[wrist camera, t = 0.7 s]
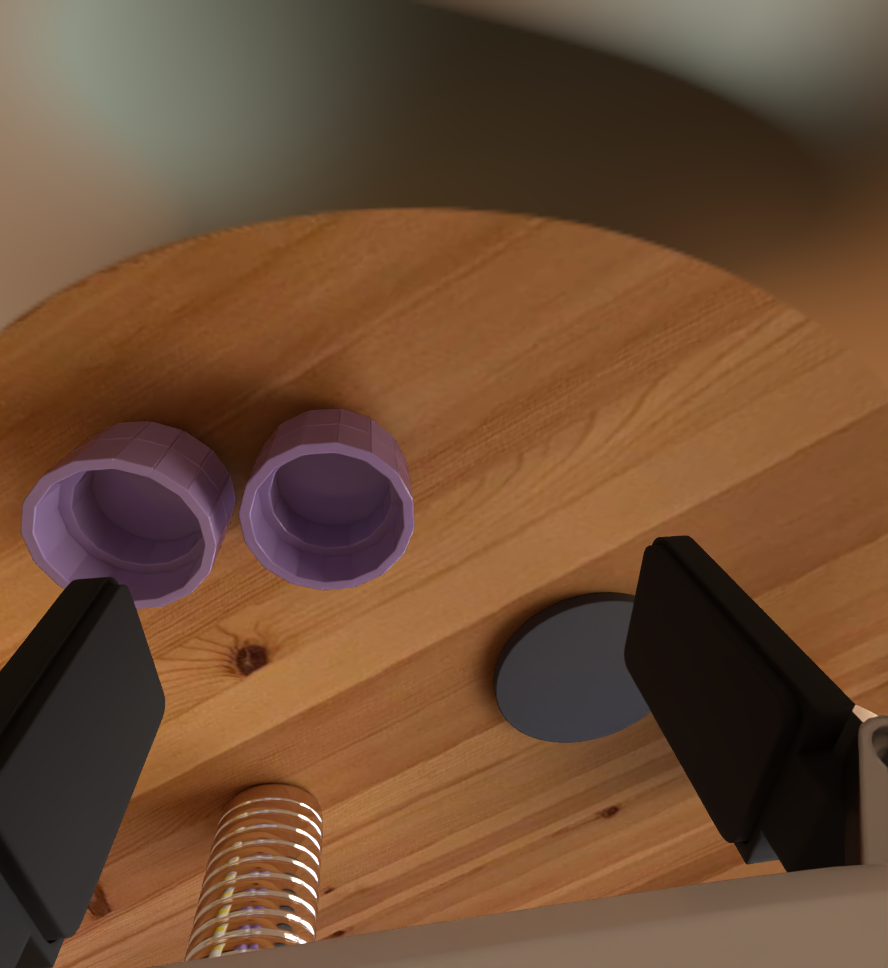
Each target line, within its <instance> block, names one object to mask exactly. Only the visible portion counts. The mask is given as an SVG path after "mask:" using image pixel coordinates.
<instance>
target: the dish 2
mask: <svg viewBox="0 0 888 968" xmlns="http://www.w3.org/2000/svg"><path fill="white" fill-rule="evenodd" d="M239 519H240V523H241V528H242V532H243V536H244V541H245V543H246V545H247V546H248V547H249V549H250V550H251V551H252V553H253V554H254V555H255V557H256V558H257V559H258V560H259V562H260V563H261V564H262V566H263V567H265V568H266V569H267V570H269V571H271V572H272V573H274V574H276V575H277V576H279V577H281V578H282V579H284V580H286V581H288V582H289V583H292V584H295V585H299V586H304V587H309V588H313V589H318V590H333V589H343V588H353V587H356V586H359V585H361V584H363V583H365V582H368V581H370V580H372V579H374V578H377V577H379V576H381V575H382V574H384V573H385V572H386V571H387V570H388V569H389V568H390V567H391V566H392V565H393V564H394V563H395V562H396V561H397V560H398V559H399V558H400V557H401V556H402V555H403V554H404V552H405V550H406V547H407V545H408V542H409V540H410V538H411V535H412V533H413V530H414V510H413V498H412V491H411V485H410V480H409V474H408V467H407V462H406V459H405V457H404V455H403V453H402V451H401V449H400V447H399V445H398V444H397V442H396V440H395V438H394V437H393V436H392V435H391V434H390V433H389V432H387V431H386V430H385V429H384V428H382V427H381V426H380V425H379V424H378V423H376V422H375V421H374V420H373V419H371V418H370V417H367V416H364V415H361V414H357V413H354V412H351V411H348V410H344V409H340V408H336V409H321V410H309V411H307V412H304V413H302V414H300V415H298V416H296V417H294V418H292V419H290V420H288V421H286V422H284V423H282V424H281V425H279V427H278V428H277V429H276V430H275V431H274V432H273V434H272V435H271V436H270V437H269V438H268V439H267V441H266V442H265V443H264V444H263V446H262V448H261V450H260V453H259V455H258V457H257V460H256V462H255V464H254V467H253V469H252V471H251V474H250V476H249V478H248V481H247V483H246V485H245V489H244V493H243V497H242V501H241V505H240V509H239Z"/></svg>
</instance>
